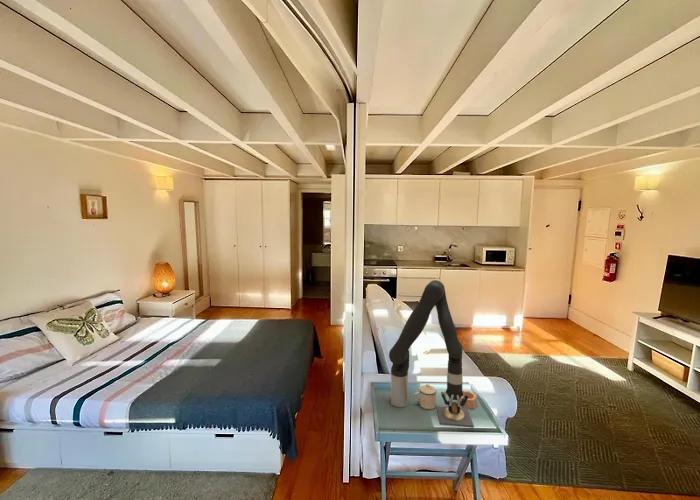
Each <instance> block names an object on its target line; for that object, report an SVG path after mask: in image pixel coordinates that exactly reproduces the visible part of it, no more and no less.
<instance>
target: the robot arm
mask: <svg viewBox="0 0 700 500" xmlns="http://www.w3.org/2000/svg"><path fill="white" fill-rule="evenodd" d="M434 308H435V309H436V312H437V318H438V324H439V328H440V331H441V333H442V336H443V339H444V343H445V348H446V351H447V354H448V361H447V373H446V390H445V391H441V392H440V395H441V399H442V400H443V402H444V403H445V405H446V406H447V407H448V410H449V412H450V413H452V406H451V405H452V402H454V401H456V403H457V413H458V414H459V412H460V408H461V406H464V405H465V403H466V401H467V399H468V395H467V394H464V393H463V391H464V390H463V382H464V381H463V360H462V359H463V350H464V349H463V344H462V343H461V342H460V340H459V338H458V333H457V329H456V326H455V325H456V324H455V323H454V321H453V317H452V314H451V311H450V308H449V305H448V300H447V295H446V289H445V285H444V283H443V282H441V281H440V280H439V279H437V280H435V279H434V280H431V281H429V283H428V284H427V285H426V286H424V290H423V292H422V294H421V297H420V299H419V302H418V303H417V305H416V306H415V308H414V309H413V310H412V312H411V313H410V315H409V316H408V318H407V320H406V322H405V324H404V326H403V328H402V330H401V332H400V335H399V336H398V338H397V340H396V341H395V343H394V344H393V346H392V347H391V349H390V351H389V354H388V358H389V361H390V362H391V363H392V364H391V369H390V378H391V379H390V384H391V385H390V406H393V407H396V408H404V407H407V406H408V403H409V383H408V382H409V379H408V378H409V368H410V350H409V349H410V348H411V346H412V345H413V343H415V342H416V340H417V339H418V338H419V336H420V335H421V334H422V333H423V330H424V328H425V327H426V325H427V323H428V321H429V318H430V315H431V313H432V311H433V309H434ZM462 396H463V399H462V401H461V402H460V398H461V397H462ZM447 397H448V400H447Z"/></svg>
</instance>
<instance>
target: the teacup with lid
mask: <svg viewBox="0 0 700 500" xmlns="http://www.w3.org/2000/svg"><path fill="white" fill-rule="evenodd" d="M418 394H419V398H417V397H416V395H418ZM413 397H414V399H415V400H416V401H417V402H419V405H420V407H422V409H425V410H433V409H435V408H437V402H436V401H437V389H436V388H435V386H432V385H430V384H429V383H426V384H423V385H421V386H419V391H415V392H414V394H413Z"/></svg>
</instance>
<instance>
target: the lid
mask: <svg viewBox="0 0 700 500" xmlns="http://www.w3.org/2000/svg"><path fill="white" fill-rule="evenodd" d="M451 406H452V413H450V412H449V410H448V406H446V407H447V408H445V409H444V415H445V417H447V418H448V419H450V420H453V421H461V420H463V419H464V412H463V411H462V410H460V412H459V414H458V413H457V401H452V405H451Z"/></svg>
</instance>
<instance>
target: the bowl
mask: <svg viewBox="0 0 700 500" xmlns="http://www.w3.org/2000/svg"><path fill="white" fill-rule="evenodd" d="M462 391H463V393H464V394H467V395H468V399H467V401H466V403H465V405H464V406H460V408H468V410H474V409H475V408H477V407H478V405H477V404H478V402H477V401H478V397H477V395H476V393H474V392H472V391H470V390H462ZM462 399H463V396H462V397H461V398H460V402H461V401H462Z"/></svg>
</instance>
